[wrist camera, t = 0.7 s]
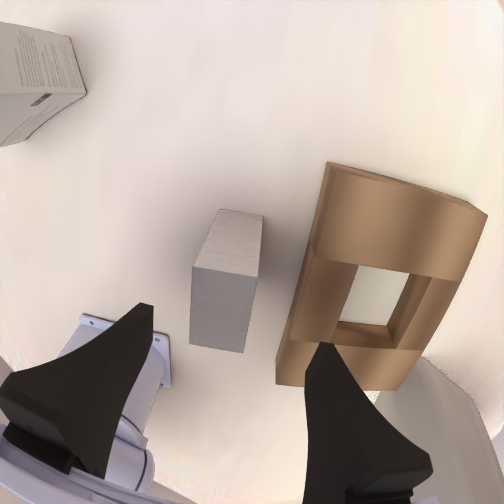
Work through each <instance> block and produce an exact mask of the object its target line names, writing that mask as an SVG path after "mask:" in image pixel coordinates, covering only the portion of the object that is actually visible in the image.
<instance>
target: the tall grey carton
mask: <svg viewBox="0 0 504 504" xmlns="http://www.w3.org/2000/svg"><path fill="white" fill-rule="evenodd" d="M374 406H375V407H376V408H377V410H378V411H379V412H380V413H381V414H382V415H383V416H384V417H385V419H386V420H387V421H388V422H389V423H390V424H392V425H393V426H394V427H395V428H396V429H397V430H398V431H399V432H400V433H401V434H402V435H404V436H405V437H406V438H407V439H409V440H410V441H411V442H412V443H414V444H415V445H417V446H418V447H420V448H421V449H423V450H424V451H426V452H427V453H429V455H430V459H431V462H432V466H433V470H434V471H433V474H432V475H431V476H430V477H429V478H428V479H427V480H425V481H424V482H422V483H421V484H419V485H418V486H416V487H415V488H413V493H414V495H413V496H412V497H410V501H411V502H414V501H417V500H421V499H425V498H429V497H433V496H437V497H438V502H439V504H504V477H503V474H502V471H501V468H500V465H499V462H498V459H497V456H496V453H495V451H494V448H493V445H492V443H491V440H490V438H489V435H488V433H487V430H486V428H485V425H484V423H483V420H482V418H481V416H480V413H479V411H478V409H477V407H476V404H475V402H474V400H473V398H472V397H470V396H469V395H468V394H467V393H466V392H465V391H463V390H462V389H461V388H460V387H459V386H457V385H456V384H455V383H454V382H453V381H452V380H450V379H449V378H448V377H447V376H446V375H444V374H443V373H442V372H441V371H440V370H438V369H437V368H436V367H435V366H434V365H432V364H431V363H430V362H429V361H428V360H426V359H425V358H424V357H421V356H420V357H419V359H418V361H417V362H416V364H415V365H414V367H413V368H412V370H411V371H410V373H409V374H408V376H407V377H406V379H405V380H404V381H403V383H402V384H401V386H400V387H399V389H398V390H397V391H381V392H380V394H379V396H378V398H377V400H376V402H375V404H374Z"/></svg>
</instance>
